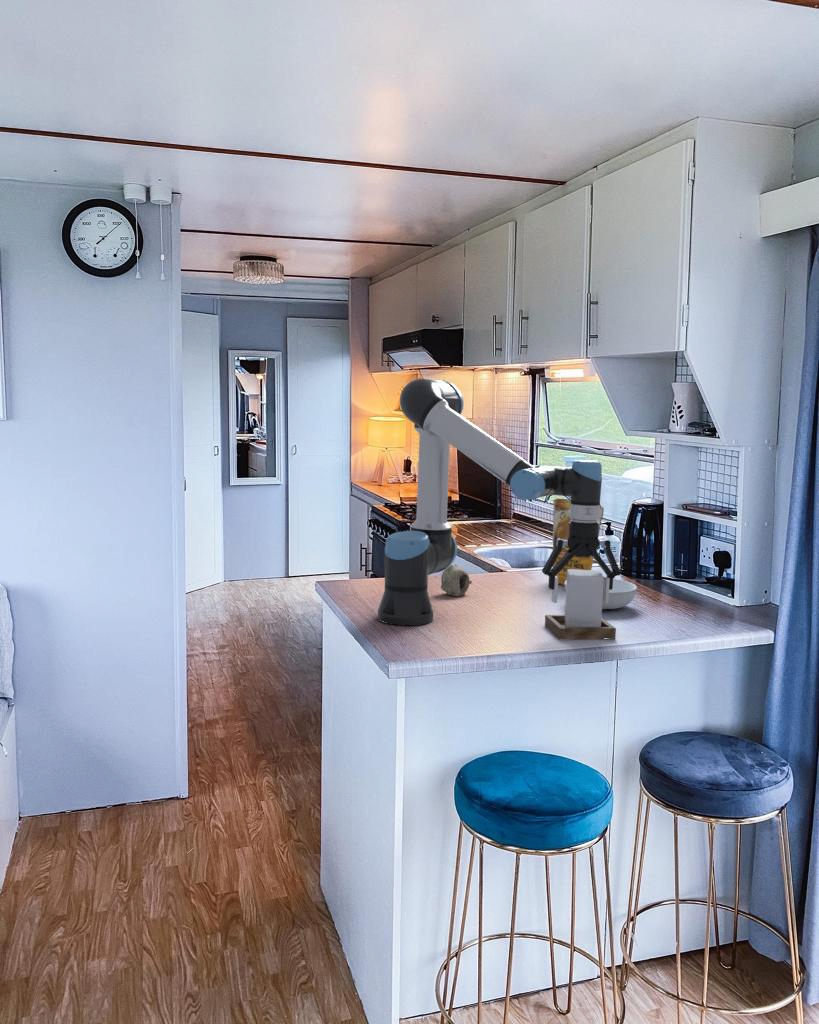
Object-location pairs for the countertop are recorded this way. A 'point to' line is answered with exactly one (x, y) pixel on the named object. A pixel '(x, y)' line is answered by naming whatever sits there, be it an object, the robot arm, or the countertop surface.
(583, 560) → the pancake mix bag
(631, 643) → the countertop surface
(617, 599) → the serving bowl
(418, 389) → the robot arm
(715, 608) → the countertop surface
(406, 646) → the countertop surface
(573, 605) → the supplement box
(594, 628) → the brown wooden tray
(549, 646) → the countertop surface
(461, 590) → the greenish lumpy pot
